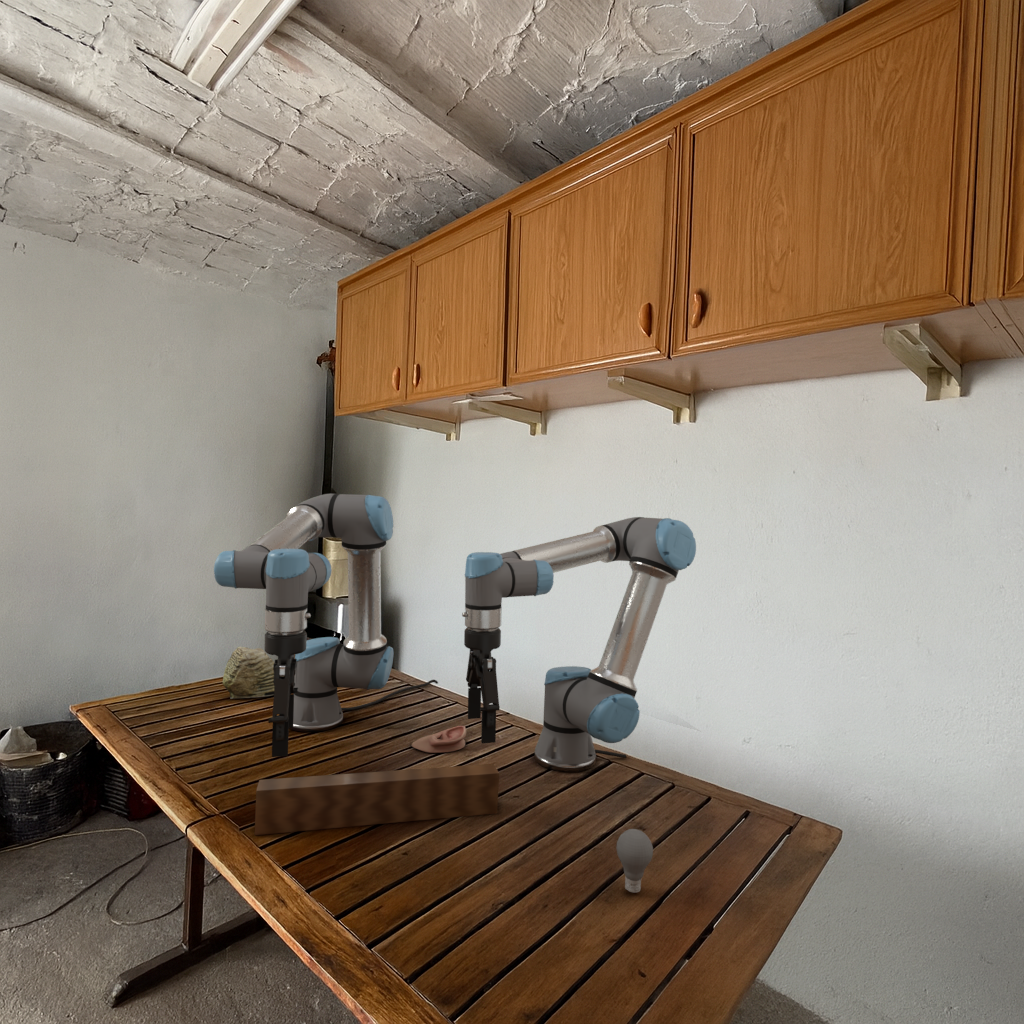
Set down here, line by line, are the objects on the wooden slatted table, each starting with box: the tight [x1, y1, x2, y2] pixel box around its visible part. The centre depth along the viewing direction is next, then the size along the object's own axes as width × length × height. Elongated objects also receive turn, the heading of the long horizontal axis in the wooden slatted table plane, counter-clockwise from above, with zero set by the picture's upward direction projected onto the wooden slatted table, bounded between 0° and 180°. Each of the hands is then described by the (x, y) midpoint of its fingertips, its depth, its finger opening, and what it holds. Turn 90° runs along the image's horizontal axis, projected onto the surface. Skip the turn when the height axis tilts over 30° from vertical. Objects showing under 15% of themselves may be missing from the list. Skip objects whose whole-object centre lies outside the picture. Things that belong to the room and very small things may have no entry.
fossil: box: [222, 646, 275, 699], centre depth 198 cm, size 9×18×15 cm, turn 132°
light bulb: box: [615, 828, 654, 894], centre depth 106 cm, size 6×6×10 cm
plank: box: [254, 763, 500, 836], centre depth 126 cm, size 47×5×8 cm, turn 105°
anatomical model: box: [411, 725, 467, 754], centre depth 164 cm, size 13×4×12 cm
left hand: (283, 740), depth 121 cm, fingers open, 13 cm apart
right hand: (480, 729), depth 131 cm, fingers open, 13 cm apart
